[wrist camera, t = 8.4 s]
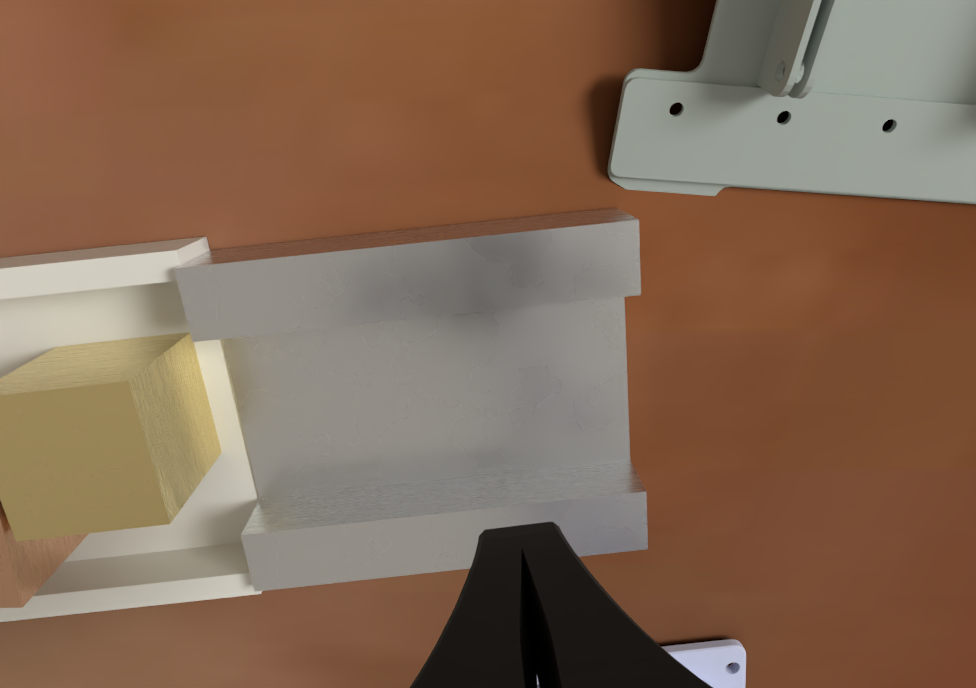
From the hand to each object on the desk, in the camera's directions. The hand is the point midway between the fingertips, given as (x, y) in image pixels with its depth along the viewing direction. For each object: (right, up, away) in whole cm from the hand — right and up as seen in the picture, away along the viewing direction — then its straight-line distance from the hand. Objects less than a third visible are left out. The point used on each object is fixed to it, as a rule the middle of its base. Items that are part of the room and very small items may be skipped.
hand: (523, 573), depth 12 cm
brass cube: (-11, +2, +9) cm, 14 cm away
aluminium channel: (-2, +3, +9) cm, 10 cm away
